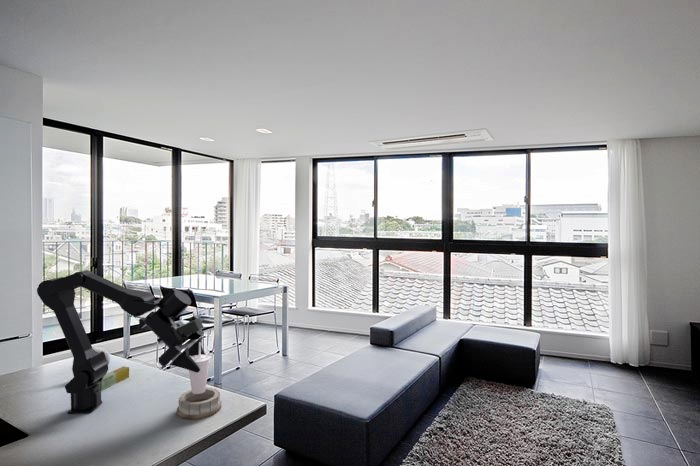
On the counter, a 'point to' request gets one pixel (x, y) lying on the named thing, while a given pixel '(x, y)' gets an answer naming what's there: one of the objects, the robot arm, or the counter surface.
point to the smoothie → (199, 373)
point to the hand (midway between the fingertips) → (203, 367)
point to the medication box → (114, 377)
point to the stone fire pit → (199, 404)
